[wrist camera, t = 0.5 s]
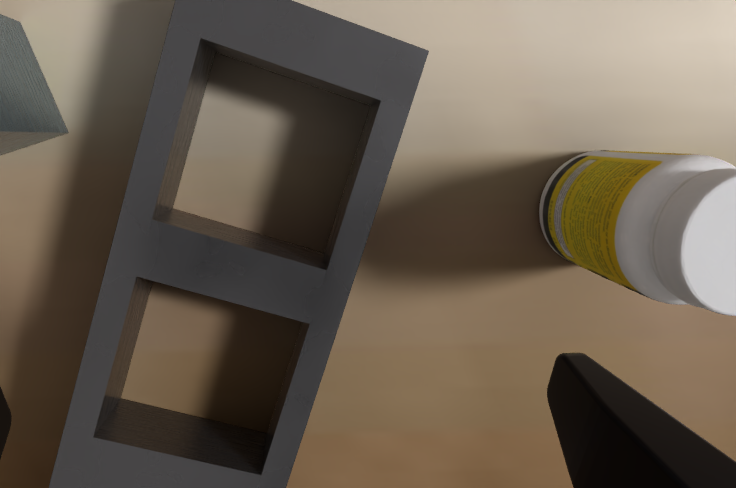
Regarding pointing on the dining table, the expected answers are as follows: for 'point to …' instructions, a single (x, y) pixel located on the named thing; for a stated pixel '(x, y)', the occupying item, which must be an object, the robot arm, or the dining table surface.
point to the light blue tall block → (23, 93)
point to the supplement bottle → (648, 223)
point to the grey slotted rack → (230, 249)
